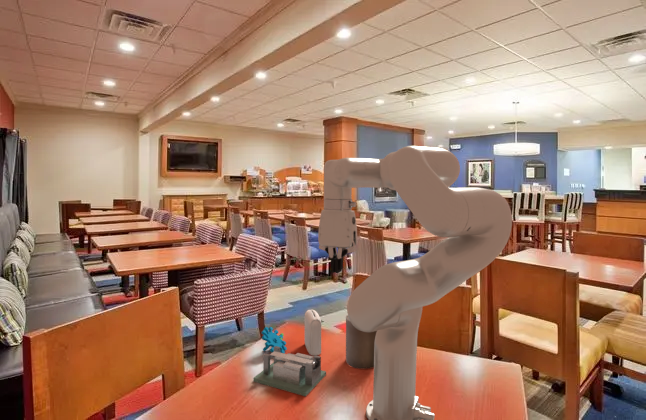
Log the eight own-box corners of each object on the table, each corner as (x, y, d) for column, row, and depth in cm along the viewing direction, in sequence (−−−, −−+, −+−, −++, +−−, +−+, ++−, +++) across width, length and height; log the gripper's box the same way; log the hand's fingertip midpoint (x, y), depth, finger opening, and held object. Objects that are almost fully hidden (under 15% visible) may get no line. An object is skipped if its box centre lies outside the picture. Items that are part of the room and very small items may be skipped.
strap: (317, 364, 104) (318, 360, 103) (312, 369, 101) (312, 365, 101) (275, 354, 109) (275, 349, 109) (268, 358, 107) (268, 354, 106)
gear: (277, 356, 115) (259, 328, 118) (264, 368, 116) (246, 340, 119) (294, 347, 125) (276, 321, 128) (282, 357, 127) (265, 332, 130)
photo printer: (303, 342, 129) (303, 306, 128) (315, 341, 130) (316, 305, 129) (309, 356, 119) (309, 317, 118) (322, 355, 120) (322, 316, 119)
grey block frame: (323, 374, 106) (323, 354, 105) (309, 388, 99) (309, 367, 98) (277, 363, 112) (277, 344, 112) (261, 375, 105) (261, 355, 105)
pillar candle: (384, 361, 116) (384, 312, 115) (364, 373, 109) (364, 321, 108) (358, 351, 123) (359, 305, 122) (338, 362, 116) (338, 313, 115)
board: (326, 374, 108) (326, 371, 108) (305, 396, 97) (305, 392, 97) (277, 362, 115) (277, 359, 115) (253, 381, 104) (253, 377, 104)
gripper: (368, 205, 105) (367, 272, 106) (319, 203, 111) (318, 266, 113) (358, 207, 98) (357, 278, 100) (306, 205, 105) (306, 271, 106)
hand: (336, 271), depth 106 cm, fingers closed
